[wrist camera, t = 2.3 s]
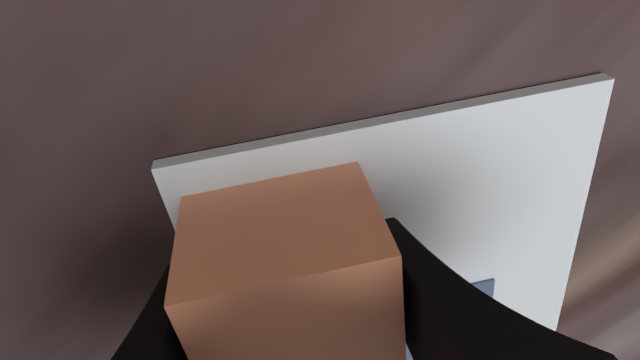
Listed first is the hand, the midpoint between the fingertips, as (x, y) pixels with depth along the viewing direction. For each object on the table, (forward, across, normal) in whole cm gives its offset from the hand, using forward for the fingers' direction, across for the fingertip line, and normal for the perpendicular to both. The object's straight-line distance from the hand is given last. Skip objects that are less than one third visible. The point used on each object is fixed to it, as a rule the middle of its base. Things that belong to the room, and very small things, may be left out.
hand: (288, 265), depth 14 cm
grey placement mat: (+1, -4, +6) cm, 8 cm away
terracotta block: (+1, 0, 0) cm, 1 cm away
